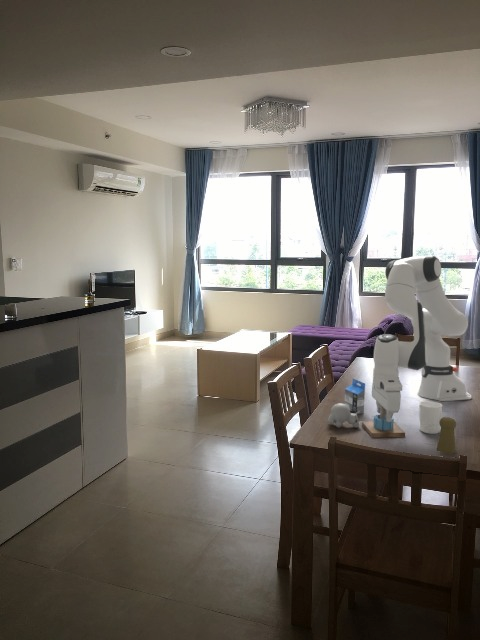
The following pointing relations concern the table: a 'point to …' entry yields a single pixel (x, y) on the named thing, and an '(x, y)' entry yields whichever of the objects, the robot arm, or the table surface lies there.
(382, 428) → the ring
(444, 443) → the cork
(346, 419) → the round bodied animal figurine
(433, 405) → the white cup
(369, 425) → the post block
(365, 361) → the table surface
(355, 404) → the blue printed box
